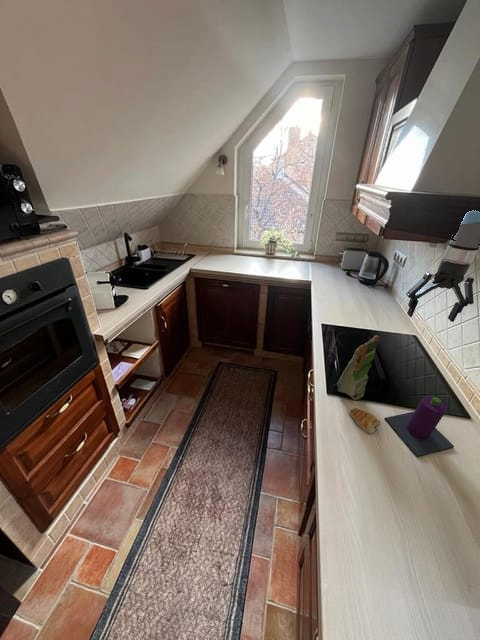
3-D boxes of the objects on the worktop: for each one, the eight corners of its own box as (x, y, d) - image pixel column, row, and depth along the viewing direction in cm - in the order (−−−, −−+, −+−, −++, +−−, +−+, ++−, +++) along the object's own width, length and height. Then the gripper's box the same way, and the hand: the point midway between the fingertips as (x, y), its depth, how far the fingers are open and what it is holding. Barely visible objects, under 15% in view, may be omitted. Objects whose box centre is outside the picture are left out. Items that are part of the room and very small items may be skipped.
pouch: (361, 382, 103) (380, 331, 91) (369, 405, 93) (391, 351, 81) (333, 378, 105) (347, 327, 92) (338, 401, 95) (355, 347, 82)
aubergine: (417, 421, 87) (436, 389, 79) (434, 437, 82) (455, 405, 74) (402, 424, 86) (419, 393, 78) (417, 441, 80) (437, 409, 72)
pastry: (345, 416, 89) (347, 409, 87) (356, 408, 92) (358, 400, 90) (370, 436, 82) (373, 429, 80) (381, 426, 86) (384, 418, 84)
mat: (417, 412, 91) (418, 410, 91) (453, 447, 80) (454, 446, 79) (384, 419, 88) (384, 417, 88) (416, 457, 77) (417, 455, 76)
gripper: (493, 260, 83) (462, 316, 94) (410, 254, 87) (389, 308, 98) (509, 268, 76) (474, 327, 87) (418, 260, 81) (395, 318, 92)
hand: (429, 317), depth 93 cm, fingers open, 13 cm apart
